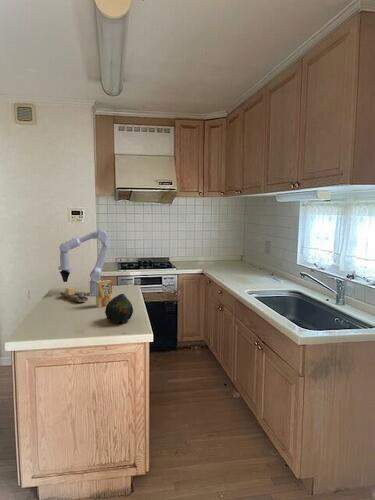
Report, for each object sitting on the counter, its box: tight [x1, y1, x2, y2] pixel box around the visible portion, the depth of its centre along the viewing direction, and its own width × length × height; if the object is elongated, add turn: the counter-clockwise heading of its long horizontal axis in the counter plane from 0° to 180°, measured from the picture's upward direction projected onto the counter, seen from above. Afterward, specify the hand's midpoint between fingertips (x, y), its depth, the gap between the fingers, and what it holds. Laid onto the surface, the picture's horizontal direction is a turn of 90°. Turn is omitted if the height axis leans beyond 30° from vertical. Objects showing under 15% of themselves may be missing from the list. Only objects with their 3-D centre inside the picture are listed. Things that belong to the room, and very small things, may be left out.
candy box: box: [95, 279, 113, 309], centre depth 223 cm, size 9×4×15 cm, turn 129°
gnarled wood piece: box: [59, 291, 89, 303], centre depth 237 cm, size 24×7×6 cm, turn 46°
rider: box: [65, 286, 75, 295], centre depth 240 cm, size 4×4×4 cm
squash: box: [104, 293, 134, 324], centre depth 197 cm, size 14×15×15 cm
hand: (65, 281), depth 244 cm, fingers closed
